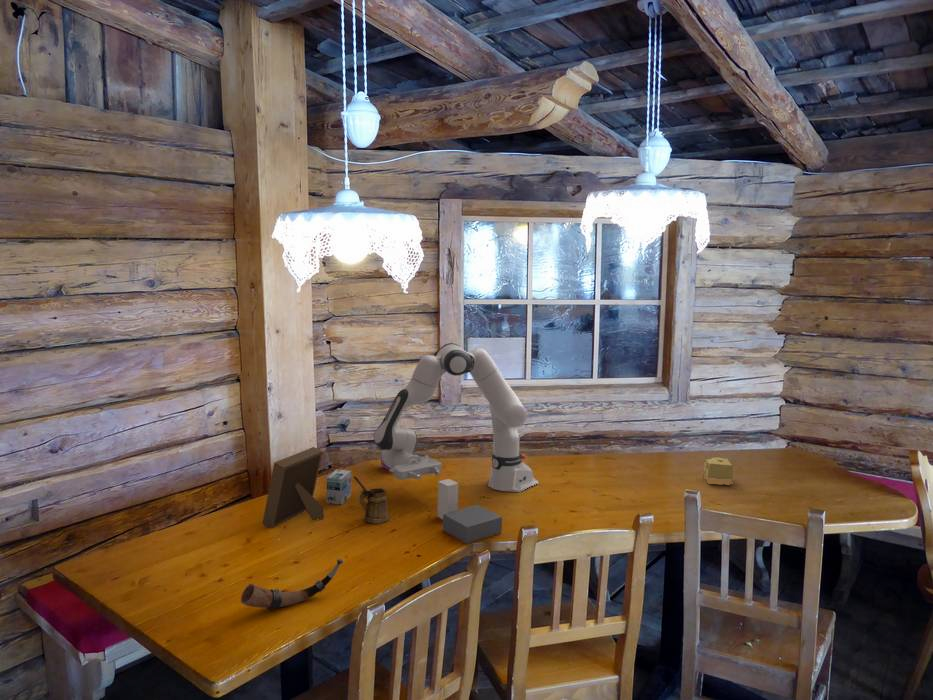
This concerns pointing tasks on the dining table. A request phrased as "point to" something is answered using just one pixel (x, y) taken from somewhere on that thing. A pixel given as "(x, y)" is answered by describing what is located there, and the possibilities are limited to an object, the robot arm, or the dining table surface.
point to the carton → (447, 497)
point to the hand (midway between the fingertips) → (428, 475)
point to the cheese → (718, 468)
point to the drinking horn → (283, 593)
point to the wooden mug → (374, 504)
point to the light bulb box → (338, 486)
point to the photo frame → (293, 488)
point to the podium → (472, 523)
